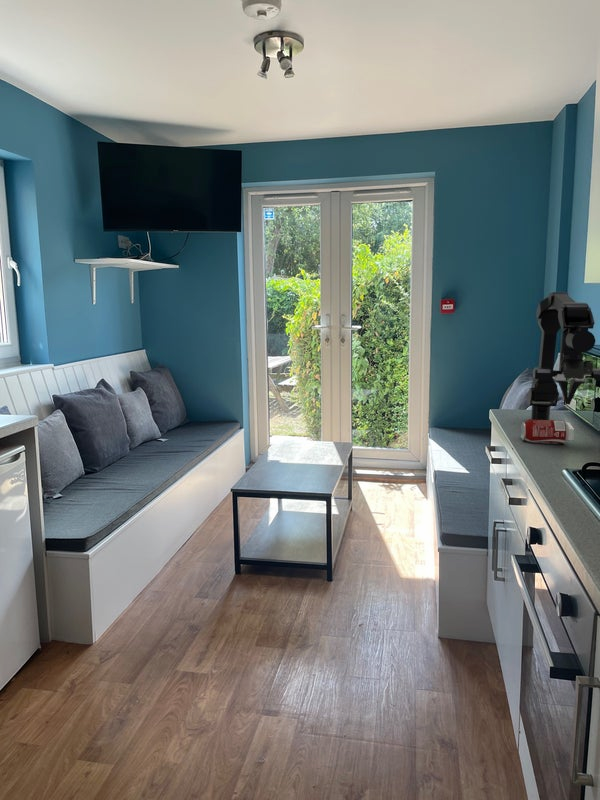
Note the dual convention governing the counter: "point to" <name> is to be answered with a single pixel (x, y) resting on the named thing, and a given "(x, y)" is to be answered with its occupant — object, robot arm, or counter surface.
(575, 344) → the robot arm
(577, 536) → the counter surface
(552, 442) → the soda can
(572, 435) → the bin
